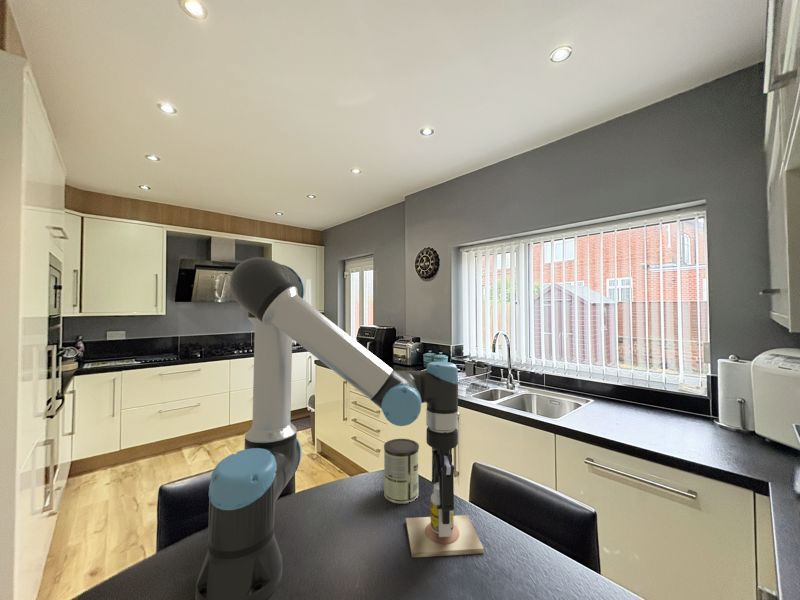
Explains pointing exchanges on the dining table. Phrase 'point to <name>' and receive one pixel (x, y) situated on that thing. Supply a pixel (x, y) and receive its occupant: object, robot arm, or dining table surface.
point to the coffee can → (401, 470)
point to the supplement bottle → (437, 510)
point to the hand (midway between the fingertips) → (441, 526)
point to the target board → (442, 538)
